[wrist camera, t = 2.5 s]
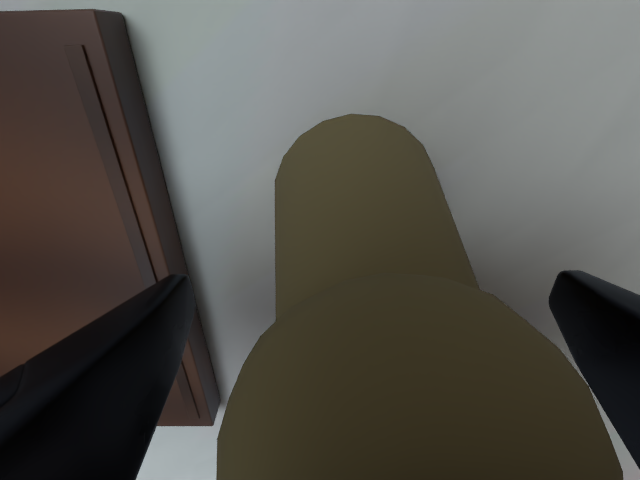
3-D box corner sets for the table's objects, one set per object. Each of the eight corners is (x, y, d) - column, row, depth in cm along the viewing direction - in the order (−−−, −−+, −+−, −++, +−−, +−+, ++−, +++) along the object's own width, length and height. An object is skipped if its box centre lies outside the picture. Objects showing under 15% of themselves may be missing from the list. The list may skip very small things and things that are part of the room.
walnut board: (220, 400, 19) (212, 428, 18) (7, 400, 20) (-17, 428, 18) (122, 12, 10) (91, 8, 9) (-271, 21, 11) (-359, 19, 9)
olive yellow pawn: (286, 269, 15) (215, 681, 5) (261, 122, 12) (-1, 469, 2) (430, 259, 15) (631, 682, 5) (442, 105, 12) (1001, 432, 2)
